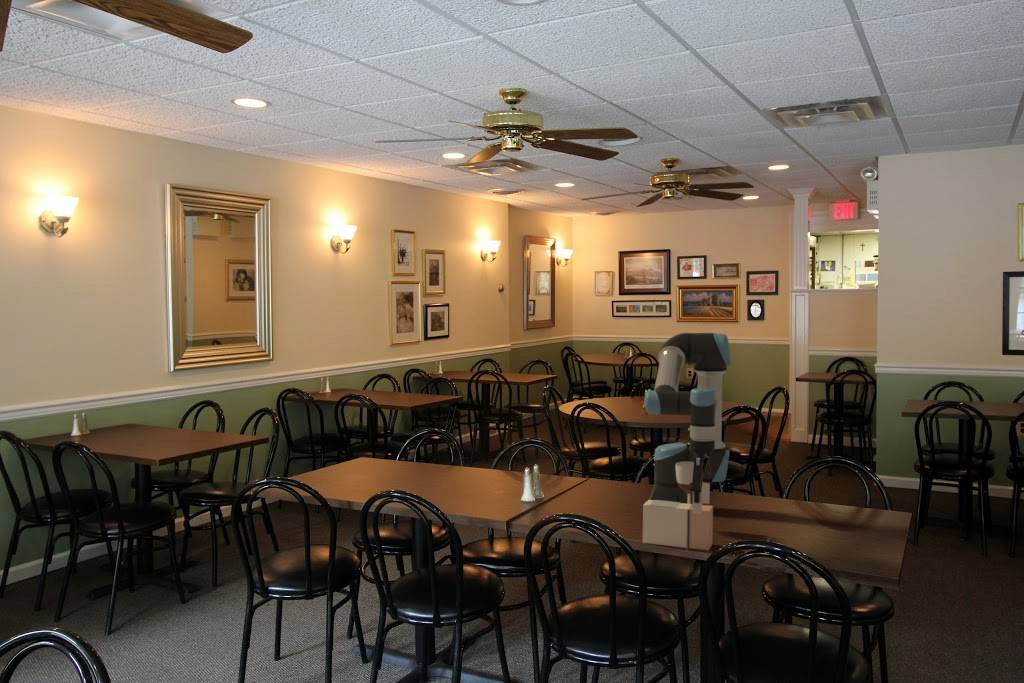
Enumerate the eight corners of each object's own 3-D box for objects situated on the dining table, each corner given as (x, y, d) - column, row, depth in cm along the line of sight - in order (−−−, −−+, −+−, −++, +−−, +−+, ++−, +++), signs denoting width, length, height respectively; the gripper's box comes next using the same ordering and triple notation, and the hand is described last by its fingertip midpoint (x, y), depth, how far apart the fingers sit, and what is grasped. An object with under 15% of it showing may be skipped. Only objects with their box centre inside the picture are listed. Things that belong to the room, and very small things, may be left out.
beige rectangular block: (647, 536, 257) (648, 499, 257) (691, 541, 252) (692, 503, 251) (642, 542, 251) (643, 504, 250) (687, 548, 245) (688, 509, 245)
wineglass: (669, 529, 267) (670, 464, 266) (685, 524, 274) (686, 460, 273) (691, 535, 261) (692, 468, 260) (707, 529, 268) (708, 464, 267)
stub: (692, 541, 252) (693, 503, 251) (712, 544, 249) (713, 505, 249) (688, 548, 245) (689, 509, 245) (708, 550, 243) (709, 511, 242)
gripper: (697, 433, 259) (696, 498, 259) (681, 444, 236) (680, 516, 236) (721, 434, 256) (719, 500, 256) (707, 446, 233) (706, 518, 233)
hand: (701, 508), depth 246 cm, fingers open, 13 cm apart
